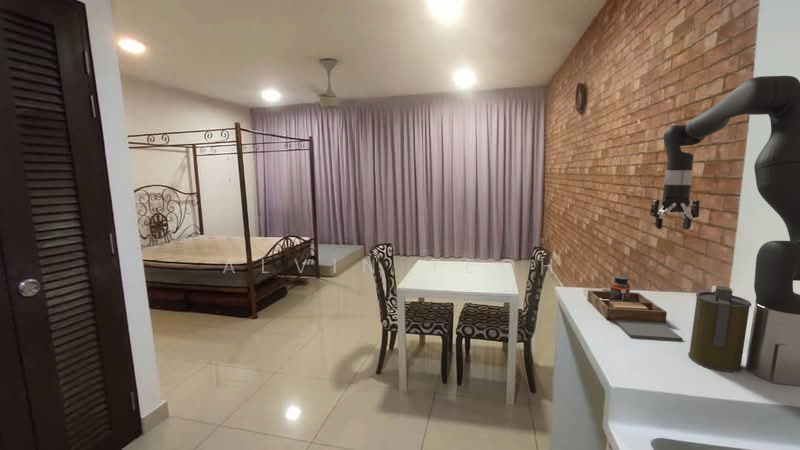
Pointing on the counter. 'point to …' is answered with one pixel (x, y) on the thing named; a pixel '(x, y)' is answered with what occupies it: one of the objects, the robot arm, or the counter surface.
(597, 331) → the counter surface
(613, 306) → the upper offcut
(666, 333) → the charcoal mat
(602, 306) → the walnut tray
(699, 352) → the canister
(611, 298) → the supplement bottle
